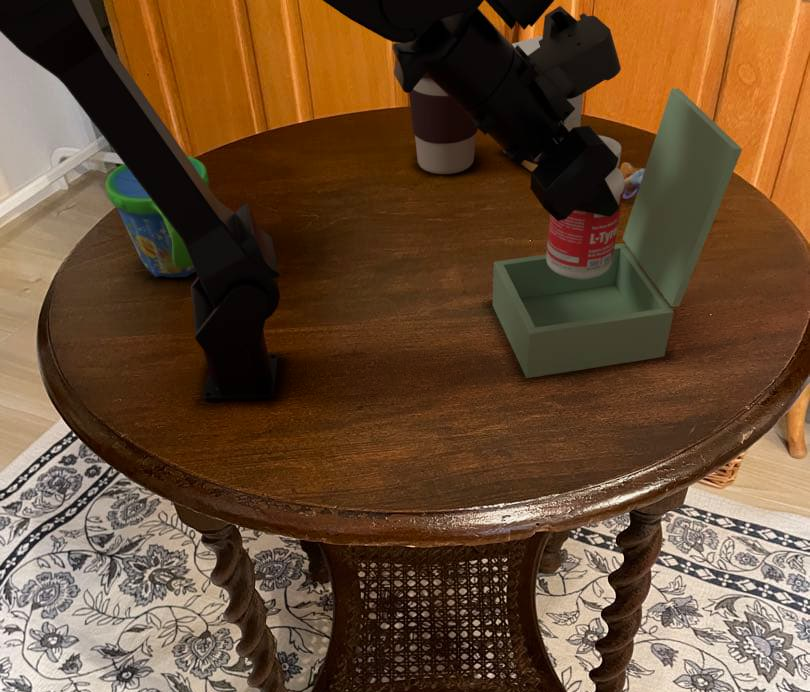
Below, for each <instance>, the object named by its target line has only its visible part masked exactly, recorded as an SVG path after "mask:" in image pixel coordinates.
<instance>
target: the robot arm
mask: <svg viewBox="0 0 810 692" xmlns="http://www.w3.org/2000/svg"><path fill="white" fill-rule="evenodd" d="M322 1H323V2H324V3H326V4H327V5H329V6H330V8H331V7H332V9H334V10H336V11H337V12H339V13H340V14H341V15H343V16H344V17H346V18H347V19H349V20H351V21H352V22H354V23H355V24H358V25H360V26H361V27H363V28H365V29H367V30H369V31H371V32H372V33H374V34H376V35H378V36H380V37H381V38H383V39H385V40H387V41H389V42H392V43H393V44H392V46H391V49H392V51H393V55H394V70H393V75H394V76H395V78H396V80H397V82H398V84H399V86H400V87H401V89H402V91H403V92H404V93H406V94H409V92H411V91H412V90H413V89H414V87H415V86H416V85H417V84H418V82H419V81H420V80H421V79H422V77H423V76H424V75H425V74H427V75H428V76H429V77H430V78H431V79H432V80H433V81H434V82H435V83H436V84H437V85H438V86H439V87H440V88H441V89H442V90H443V91H444V92H445V93H446V94H448V95H449V96H450V97H451V98H452V99H453V100H454V101H455V102H456V103H457V104H458V105H459V106H460V107H461V108H462V109H463V110H464V111H465V112H466V113H467V114H468V115H469V116H470V118H471V119H472V121H473V122H474V124H475V125H476V127H477V128H478V130H479V131H480V132H481V133H482V134H483V135H484V136H487V134H488V136H489V137H491V138H492V139H493V140H494V141H495V142H496V143H497V144H498V145H499V146H500V147H501V148H502V150H503V149H504V151H505V152H506V154H505V155H506V156H508V158H509V160H510V161H512V163H513V164H514V165H515V166H517V168H518V167H520V166H522V164H521V163H522V162H523V161H524V160H526V161H528V162H531V163H533V164H536V165H538V166H537V167H536V168H535V169H534V170H533V171H532V172H531V171H530V172H531V173H530V174H531V175H530V190H531V192H532V193H533V195H534V196H535V198H536V199H537V201H538V202H539V203H540V205H541V206H542V208H543V209H544V210H545V211H546V212H547V213H549V214H551V215H552V216H553V217H554V218H555V219H556V220H557V221H561V220H564V219H566V218H567V217H568V216H569V215H570V214H571V213H572V212H573V211H574V210H578V211H584V212H588V213H593V214H598V215H603V216H607V217H611V216H613V215H614V214H615V213H616V212H617V211H618V210H619V205H618V203H617V201H616V199H615V197H614V195H613V193H612V192H611V190H610V188H609V186H608V184H607V182H606V180H605V178H606V177H607V176H608V175H609V174H610V173H611V172H612V171H613V170H614V169H615V168H616V166H617V163H618V160H619V158H618V157H617V156H616V155H615V154H614V153H613V152H612V150H611V149H610V148H609V147H608V146H607V145H606V144H605V143H604V141H603V140H602V139H601V138H600V137H599V136H600V135H599V134H597V132H596V131H595V130H594V129H593V128H592V127H591V126H590V125H583V126H582V125H580V127H574V128H572V129H571V130H570V131H569V130H568V129H567V128H566V126H565V125H564V121H565V120H566V119H567V118H568V116H569V115H570V114H571V113H572V112H573V111H574V110H575V108H574V107H573V105H572V104H571V103H570V102H569V101H568V100H567V99H572V98H575V97H577V96H579V95H581V94H583V93H584V94H585V93H586V92H587V91H589V90H591V89H592V88H594V87H596V86H598V85H599V84H601V83H602V82H604V81H610V80H612V79H614V78H615V77H616V76H618V75H619V73H620V72H621V70H622V67H621V64H620V59H619V55H618V52H617V49H616V45H615V42H614V39H613V35H612V30H611V28H609V26H608V25H606V24H605V23H604V22H603V21H602V20H601V19H599V18H598V17H597V16H595V15H587V14H586V13H585V12H583V13H581V14H579V20H577V19H576V18H575V17H574V16H573V15H572V14H570V13H569V12H568V11H567V10H566V9H565V8H563V6H561V5H559V6H557V7H556V8H554V9H552V10H551V11H549V12H548V13H546V14H545V15H544V13H545V12H547V10H548V9H549V7H551V5H552V4H553V3H554V2H555V0H322ZM483 2H485V3H487V4H488V5H489V7H490V8H491V9H492V10H493V11H494V12H495V13H496V14H497V15H498V16H499V17H500V19H501V20H502V21H503V22H504V23H505V24H506V25H507V26H508V28H510V30H513V29H514V27H516V25H519V26H520V27H521V28H522V29H523V31H524V30H526V29H527V27H528V26H530V28H533V27H534V25H535V24H536V23H537V22H538V20H539V19H540V18H541V17H542V16H543V15H544V19H543V28H542V36H543V39H541V40H540V41H539V45H540V47H539V48H538V49H536V50H535V51H534V52H532V53H531V54H529V55H527V54H526V53H525V52H524V51H523V50H522V49H521V48H520V47H519V46H518V45H517V46H516V47H514V46H513V45H512V44H513V43H511V42H510V41H509V40H508V39H507V38H506V37H505V36H504V35H503V33H501V31H500V30H499V29H498V28H497V27H496V26H495V25H494V23H492V22H491V21H490V19H489V18H488V17H487V16H486V15H485V14H484V13H483V12H482V11H481V10H480V8H479V7H480V6H481V5H482V3H483ZM92 6H93V5H92V4H91V2H90V0H0V33H1V34H2V35H3V36H4V37H5V38H6V39H7V40H8V41H9V42H10V43H11V44H12V45H13V46H15V48H16V49H18V50H19V51H20V52H21V53H22V54H23V55H25V56H26V57H27V58H29V59H30V60H32V61H33V62H34V63H36V64H38V65H39V66H40V67H42V68H43V69H44V70H46V71H47V72H49V73H50V74H51V75H53V76H54V77H55V78H57V80H59V81H60V82H61V83H62V84H63V85H64V86H65V88H66V89H67V90H68V92H69V93H70V94H71V96H72V97H73V98H74V100H75V101H76V102H77V103H78V105H79V106H80V107H81V109H82V110H83V111H84V113H85V114H86V115H87V117H88V118H89V119H90V121H91V122H92V123H93V124H94V126H95V128H97V130H98V131H99V132H100V134H101V135H102V137H103V138H105V141H106V142H107V143H108V144H109V146H110V147H111V149H112V150H113V151H114V152H115V153H116V155H117V156H118V158H119V159H120V160H121V161H122V162H123V164H125V165H126V166H127V168H128V169H129V170H130V172H131V173H132V174H133V176H134V177H135V178H136V180H137V181H138V182H139V184H140V185H141V186H142V187H143V189H144V190H145V191H146V193H147V194H148V195H149V197H150V198H151V199H152V201H153V202H154V203H155V205H156V206H157V207H158V208H159V210H160V211H161V212H162V214H163V215H164V216H165V218H166V219H167V220H168V222H169V223H170V224H171V226H172V227H173V228H174V229H175V231H176V232H177V233H178V235H179V236H180V237H181V239H182V240H183V242H184V244H185V246H186V249H187V251H188V254H189V256H190V258H191V261H192V263H193V266H194V268H195V270H196V272H195V273H196V276H197V277H196V278H195V280H194V281H193V282H192V283H191V285H190V293H191V304H192V316H193V325H194V337H195V342H197V344H198V345H199V346H200V347H201V349H202V350H203V354H204V356H205V361H206V365H207V369H208V372H207V373H208V374H207V378H206V382H205V386H204V390H203V394H202V395H203V396H202V397H203V399H204V401H206V402H226V401H228V402H229V401H251V400H255V401H256V400H269V399H272V398H273V397H274V393H275V386H276V380H277V374H278V367H279V361H280V359H279V355H278V354H277V353H269V352H268V347H267V342H266V337H265V333H264V328H265V323H266V321H267V320H268V319H269V318H270V317H272V316H273V314H275V312H276V310H277V309H278V306H279V302H280V300H281V293H280V288H279V284H278V278H279V277H281V276H280V275H281V274H280V269H279V266H278V261H277V257H276V252H275V248H274V247H275V246H274V243H273V239H272V236H271V235H270V234H268V233H267V232H265V231H264V230H263V229H262V228H261V227H260V226H259V224H258V222H257V221H256V218H255V216H254V213H253V212H252V209H251V207H250V206H249V204H248V203H245V204H244V205H242V206H241V207H240V208H238V210H236V211H233V210H232V209H231V208H229V207H228V206H227V205H225V204H223V203H222V202H221V201H220V200H218V198H217V197H216V196H215V195H214V193H213V192H212V191H211V189H210V186H209V187H208V186H207V185H206V183H205V182H204V180H203V179H202V177H201V176H200V175H199V173H198V172H197V170H196V169H195V167H194V166H193V164H192V163H191V162H190V160H189V159H188V157H187V156H188V155H187V154H186V153H185V152H184V150H183V148H182V147H181V146H180V144H179V143H178V142H177V140H176V139H175V137H174V136H173V134H172V133H171V132H170V130H169V128H168V127H167V126H166V124H165V122H164V121H163V120H162V119H161V117H160V116H159V114H158V113H157V111H156V110H155V108H154V107H153V105H152V104H151V102H150V101H149V99H148V98H147V97H146V95H145V94H144V92H143V91H142V90H141V88H140V87H139V85H138V84H137V83H136V81H135V80H134V78H133V77H132V75H131V74H130V72H129V71H128V69H127V67H125V65H124V63H122V61H121V59H120V58H119V57H118V55H117V54H116V52H115V51H114V49H113V48H112V46H111V45H110V44H109V42H108V40H107V39H106V37H105V35H104V33H103V31H102V28H101V26H100V24H99V21H98V18H97V16H96V14H95V10H94V9H93V7H92ZM584 94H583V95H584ZM598 135H599V136H598Z"/></svg>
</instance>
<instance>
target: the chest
mask: <svg viewBox="0 0 810 692" xmlns="http://www.w3.org/2000/svg"><path fill="white" fill-rule="evenodd" d="M546 254H547V253H545V254H539V255H532V256H524V257H518V258H510V259H503V260H498V261H493V273H492V274H493V275H492V277H493V279H492V281H493V282H492V303H491V304H492V307H493V310H494V312H495V315H496V316H497V318H498V320H499V322H500V325H501V327H502V330H503V331H504V334H505V336H506V339H508V342H509V344H510V347H511V349H512V351H513V352H514V355H515V357H516V359H517V361H518V364H519V365H520V368H521V370H522V372H523V374H524V376H525V379H531V378H537V377H543V376H551V375H556V374H562V373H569V372H576V371H582V370H588V369H594V368H601V367H607V366H613V365H620V364H621V365H622V364H627V363H633V362H634V363H635V362H639V361H646V360H653V359H659V358H665V355H666V350H667V346H668V341H669V337H670V332H671V327H672V322H673V319H674V315H675V314H674V313H675V311H674V309H673V307H671V306H670V304H669V303H668V301H667V300H666V299H665V297H664V296H663V294H662V293H661V292H660V290H659V289H658V287H657V286H656V285H655V283H654V282H653V280H652V279H651V278H650V276H649V275H648V273H647V272H646V271H645V269H644V268H643V266H642V265H641V264H640V262H639V261H638V259H637V258H636V257H635V255H634V254H633V252H632V251H631V250H630V248H629V247H628V245H627V244H626V243H625V242H624V243H623V242H622V243H617V244H616V243H615V247H614V253H613V259H612V264H611V266H610V268H609V269H608V270H607V271H606V272H605V273H603V274H602V275H600V276H597V277H594V278H589V279H573V278H568V277H565V276H562V275H559V274H557V273H556V272H554V271H553V270H552V269H551V268H550V267H549V266H548V264H547V261H546Z"/></svg>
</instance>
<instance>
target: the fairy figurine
mask: <svg viewBox="0 0 810 692" xmlns="http://www.w3.org/2000/svg"><path fill="white" fill-rule="evenodd" d="M619 170H620V171H621V172H622V174H623V176H624V180H625V185H624V192H623V198H622V199H626V200H628V199H630V198H632V197H633V196H634V195H635V194H637V193H638V190H639V187H640V184H641V181H642V177H643V174H644V171H645V168H641V167H639V168H638V167H634V166H633V165H632V164H631V163H630V162H625V161H624V162H623V163H622V164H621V166H620V168H619ZM633 186H634V187H635V190H634V189H632V193H631V190H629V188H633ZM627 193H629V194H627Z"/></svg>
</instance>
